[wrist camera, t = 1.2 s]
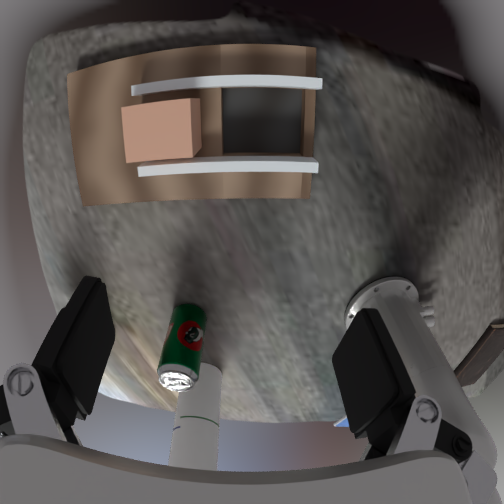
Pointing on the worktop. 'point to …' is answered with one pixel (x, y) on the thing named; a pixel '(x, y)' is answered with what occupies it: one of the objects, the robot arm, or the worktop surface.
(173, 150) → the block
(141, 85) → the channel
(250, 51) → the board
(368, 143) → the worktop surface
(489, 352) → the hardcover book
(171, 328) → the soda can
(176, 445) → the cylindrical container
